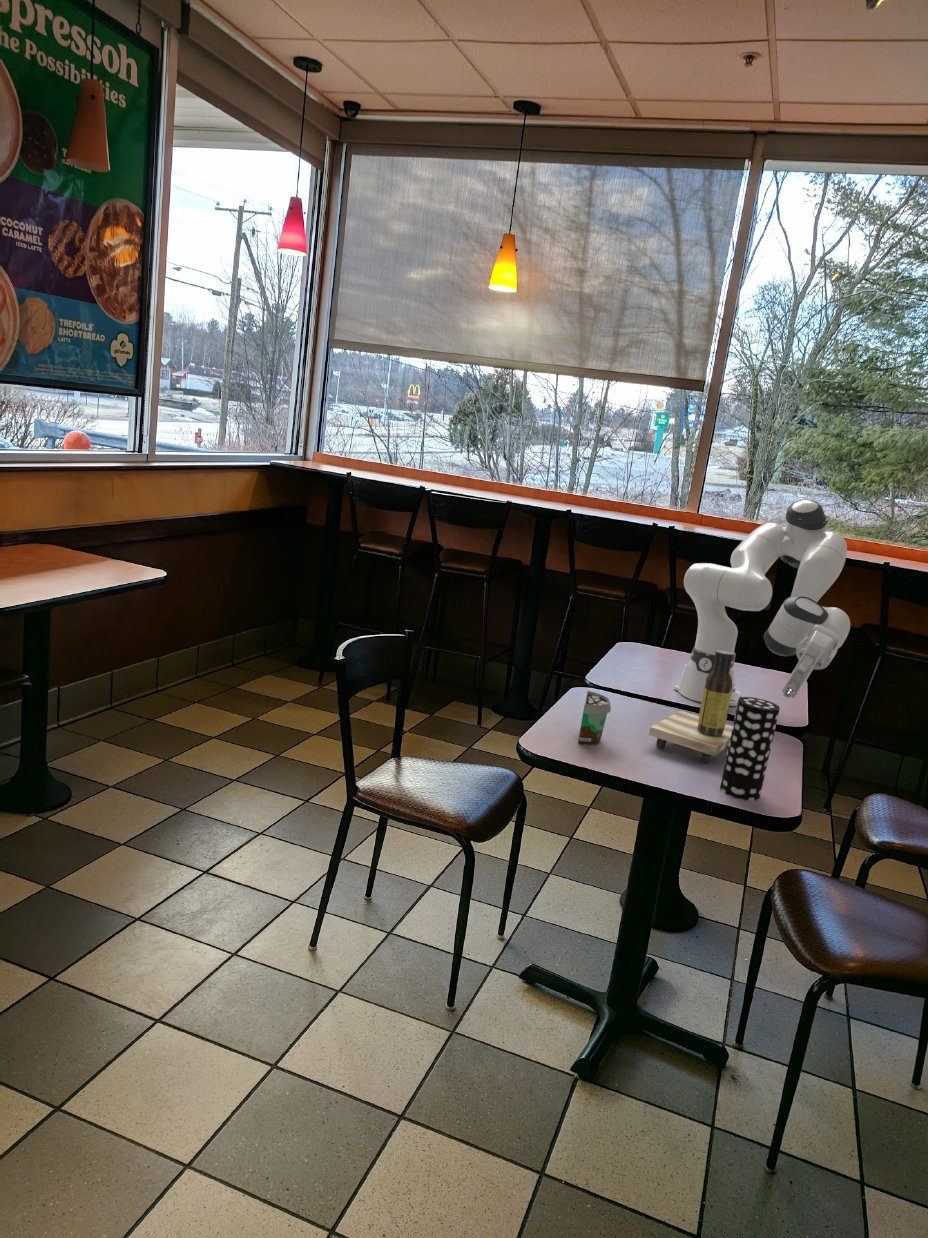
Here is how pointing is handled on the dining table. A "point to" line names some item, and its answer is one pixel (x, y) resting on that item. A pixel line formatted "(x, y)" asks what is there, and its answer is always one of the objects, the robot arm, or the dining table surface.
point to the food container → (593, 718)
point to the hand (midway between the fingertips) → (793, 683)
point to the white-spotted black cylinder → (749, 748)
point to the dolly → (689, 735)
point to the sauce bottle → (716, 696)
